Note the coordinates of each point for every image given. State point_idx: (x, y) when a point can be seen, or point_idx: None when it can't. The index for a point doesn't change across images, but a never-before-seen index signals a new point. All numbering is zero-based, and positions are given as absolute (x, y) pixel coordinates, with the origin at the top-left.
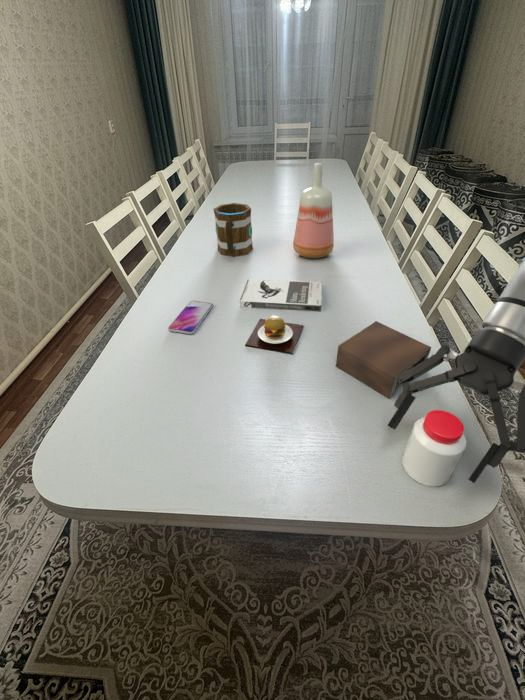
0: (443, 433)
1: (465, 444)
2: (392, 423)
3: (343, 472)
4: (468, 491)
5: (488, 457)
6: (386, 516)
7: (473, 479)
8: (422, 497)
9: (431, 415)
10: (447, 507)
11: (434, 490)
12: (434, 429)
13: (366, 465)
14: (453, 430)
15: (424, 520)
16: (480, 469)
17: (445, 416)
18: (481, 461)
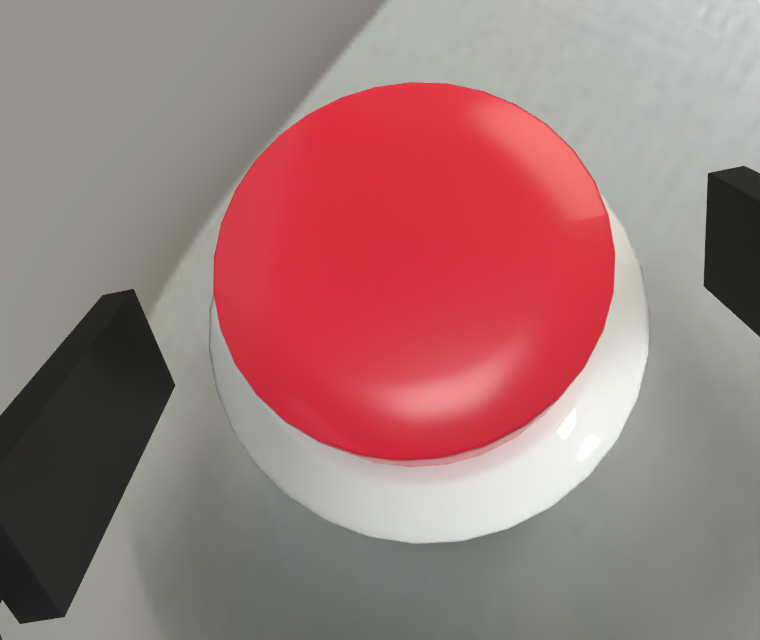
0: (327, 144)
1: (223, 395)
2: (737, 181)
3: (624, 26)
4: (219, 454)
5: (23, 404)
6: (360, 57)
7: (105, 302)
8: None
9: (561, 221)
10: None
11: None
12: (408, 109)
13: (602, 136)
14: (292, 256)
15: None
16: (70, 339)
17: (466, 345)
18: (70, 365)
